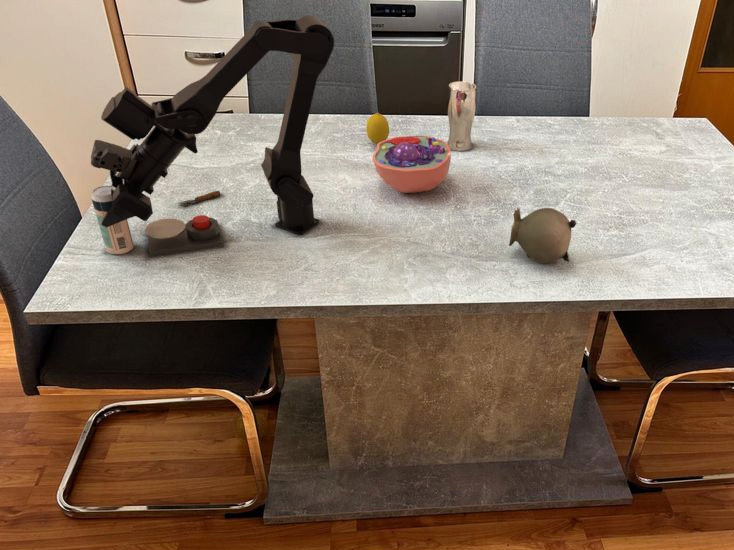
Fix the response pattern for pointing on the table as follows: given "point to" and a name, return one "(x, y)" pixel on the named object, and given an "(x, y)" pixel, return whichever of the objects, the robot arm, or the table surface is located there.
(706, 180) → the table surface
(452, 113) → the cream vase
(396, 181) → the cell model
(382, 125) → the lemon
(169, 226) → the warming plate
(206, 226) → the button
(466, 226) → the table surface
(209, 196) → the can opener
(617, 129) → the table surface
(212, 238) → the warmer
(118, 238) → the beer can
